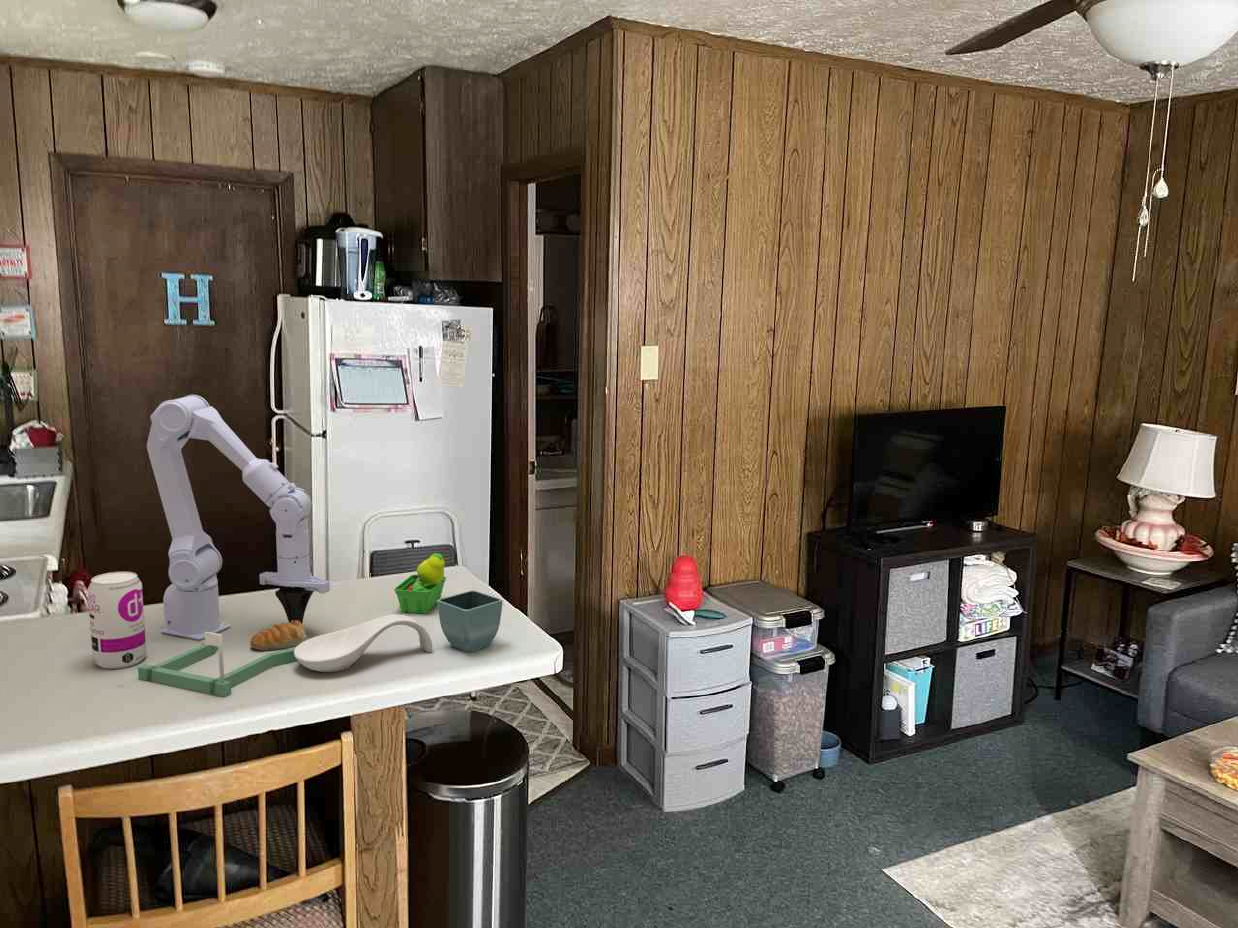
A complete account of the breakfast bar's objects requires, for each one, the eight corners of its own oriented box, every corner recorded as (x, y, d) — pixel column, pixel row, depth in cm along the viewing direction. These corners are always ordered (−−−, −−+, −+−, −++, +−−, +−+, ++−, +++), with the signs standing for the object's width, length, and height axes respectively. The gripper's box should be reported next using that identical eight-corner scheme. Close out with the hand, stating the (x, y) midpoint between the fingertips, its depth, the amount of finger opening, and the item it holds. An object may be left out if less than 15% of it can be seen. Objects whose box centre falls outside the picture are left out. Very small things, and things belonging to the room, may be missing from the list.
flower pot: (435, 646, 180) (435, 599, 178) (473, 634, 186) (473, 589, 184) (465, 659, 174) (465, 610, 172) (504, 646, 180) (504, 599, 178)
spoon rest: (304, 685, 162) (302, 643, 160) (287, 661, 172) (285, 622, 170) (440, 659, 174) (439, 621, 173) (417, 638, 184) (416, 602, 182)
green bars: (135, 678, 162) (131, 620, 161) (217, 642, 179) (214, 589, 177) (227, 697, 156) (224, 637, 154) (303, 658, 172) (301, 604, 170)
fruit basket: (412, 596, 208) (411, 545, 206) (453, 599, 207) (452, 547, 205) (393, 614, 197) (392, 559, 195) (435, 616, 196) (435, 562, 193)
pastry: (259, 656, 173) (258, 635, 173) (244, 645, 178) (243, 625, 178) (309, 643, 180) (309, 623, 179) (293, 634, 185) (292, 614, 184)
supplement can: (157, 656, 172) (152, 573, 169) (119, 673, 164) (113, 586, 162) (121, 649, 175) (115, 568, 172) (82, 666, 167) (75, 581, 164)
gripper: (339, 554, 183) (341, 623, 186) (276, 545, 188) (279, 613, 191) (314, 563, 177) (317, 635, 179) (250, 554, 182) (253, 624, 184)
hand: (296, 624), depth 185 cm, fingers closed
